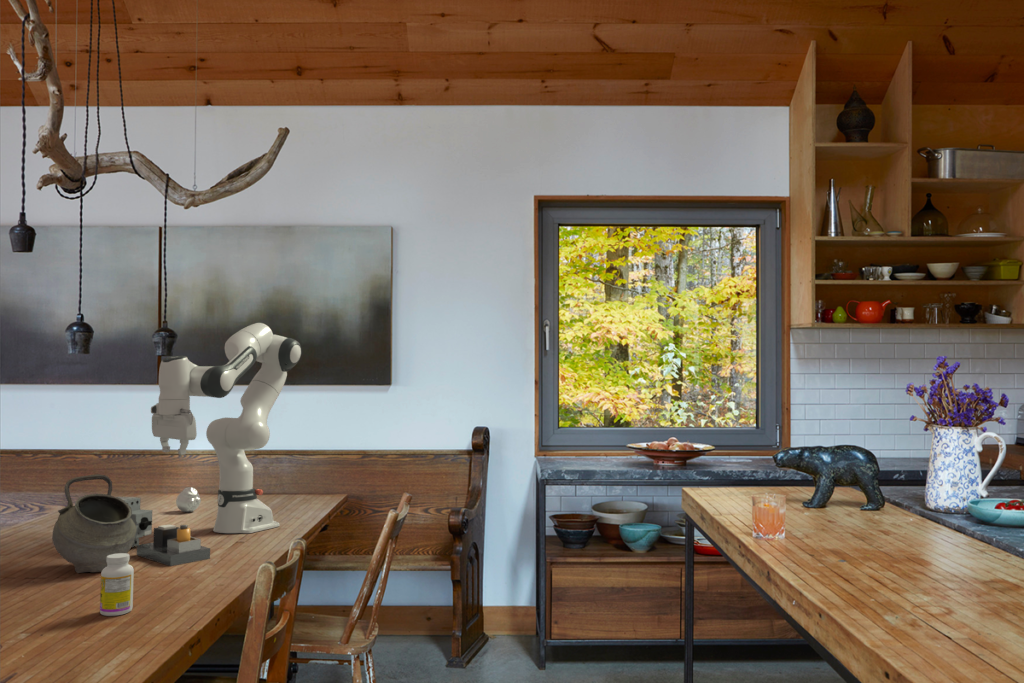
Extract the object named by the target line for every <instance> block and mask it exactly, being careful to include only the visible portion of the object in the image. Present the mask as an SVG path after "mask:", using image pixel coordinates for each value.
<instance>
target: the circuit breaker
mask: <svg viewBox="0 0 1024 683" xmlns="http://www.w3.org/2000/svg"><path fill="white" fill-rule="evenodd" d="M117 497H118V498H120V499H122V500H124V501H125V502H126V503H127V504H128V505H129V506H130V507H131V509H132V515H131V517H130V518H131V519H132V520H133V522H134V523H135V525H136V533H135V539H134V543H133V545H132V548H135V547H137V545H140V538H143V537H146V536H150V535H152V531H153V510H152V509H141V499H142V498H141V497H137V496H136V497H134V496H117ZM134 546H135V547H134Z"/></svg>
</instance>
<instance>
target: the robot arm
mask: <svg viewBox="0 0 1024 683" xmlns="http://www.w3.org/2000/svg"><path fill="white" fill-rule="evenodd" d="M224 353H225V356H226V358H227V359H228V362H227V363H226V364H223V365H215V366H214V365H213V366H211V365H210V366H208V365H205V366H204V365H203V366H199V365H197V364H195V363H193V362H191V361H190V359H188V356H186V355H172V356H166V357H165V358H163V359H162V360H161V362H160V364H159V371H158V388H159V396H158V402H157V403H156V404H154V405H153V406H151V407H150V414H152V415H151V431H152V435H153V437H154V438H155V437H156V438H159V441H160V442H159V443H160V444H161V450H162V453H169V452H171V446H170V445H169V441H170V439H171V440H179V444H180V445H179V448H178V449H177V454H178V455H181V456H183V455H186V454H187V448H188V445H189V443H190V441H194V440H196V438H197V434H198V433H197V422H196V417H195V416H194V413H192V410H191V406H190V405H191V402H190V401H191V398H190V397H203V398H204V397H207V398H209V397H210V398H216V399H221V398H222V399H223V398H225V397H226V396H229V394H230V393H231V392H232V390H233V388H234V387H235V384H236V383H237V382H238V381H239V379H241V378H242V377H243V376H244V375H245V374H246V373H247V372H248V371H249V370H250V369H251V368H252V367H253V366H254V364H255V363H256V362H257V363H258V362H259V363H261V367H260V369H259V370H258V372H257V373H256V374H255V375H254V376H253V378H252V379H251V381H250V382H249V384H248V386H247V388H246V389H245V390H244V393H243V394H242V395H241V398H240V405H241V408H242V410H241V414H240V416H238V417H222V418H218V419H214V420H213V421H211V422H210V423H209V424H208V426H207V427H206V433H205V434H206V439H207V441H208V443H209V444H210V445H211V446H212V447H213V450H214V451H215V455H216V458H217V461H218V467H219V489H218V490H217V513H216V519H215V523H214V525H213V529H212V531H213V532H214V533H220V534H252V533H257V532H261V531H266V530H268V529H273V528H278V527H280V522H278V521H277V520H274V515H273V510H272V509H271V507H269V506H268V505H266V504H265V503H264V502H262V500H260V499H258V496H262V495H263V493H264V492H263V491H262V489H259V488H257V489H255V488H254V467H253V464H252V463H251V461H250V460H249V459H248V457H247V455H246V453H245V451H255V450H259V449H260V450H261V449H262V448H264V447H265V446H266V445H267V444H268V443H269V440H270V436H271V435H270V434H271V433H270V429H269V426H268V418H269V414H270V412H271V410H272V408H273V406H274V404H275V403H276V401H277V399H278V398H279V396H280V394H281V392H282V390H283V388H284V385H285V383H286V381H287V376H288V372H289V371H291V370H292V369H293V368H294V367H295V366H296V365H297V364H298V363H299V361H300V359H301V356H302V353H303V352H302V346H301V343H300V342H299V341H297V340H296V339H295V338H291V337H286V336H283V335H278V334H274V333H273V331H272V329H271V328H270V326H268V325H267V324H265V323H263V322H255V323H252V324H249V325H248V326H246V327H244V328H241V329H240V330H238V331H237V332H235V333H234V334H232V335H231V336H230V337H229V338H227V340H226V341H225V344H224ZM257 495H258V496H257Z"/></svg>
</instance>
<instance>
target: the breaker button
mask: <svg viewBox="0 0 1024 683" xmlns="http://www.w3.org/2000/svg"><path fill="white" fill-rule="evenodd" d="M176 527H177V525H176V524H175V525H174V524H164V525H163V524H162V525H158V527H157V528H158V529H162V530H167V529H174V528H176Z"/></svg>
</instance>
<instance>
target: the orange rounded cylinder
mask: <svg viewBox="0 0 1024 683" xmlns="http://www.w3.org/2000/svg"><path fill="white" fill-rule="evenodd" d="M191 528H192V527H191ZM191 528H190V527H188V524H181V525H180V526H179V529H177V541H178V542H184V541H190V536H191Z"/></svg>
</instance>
